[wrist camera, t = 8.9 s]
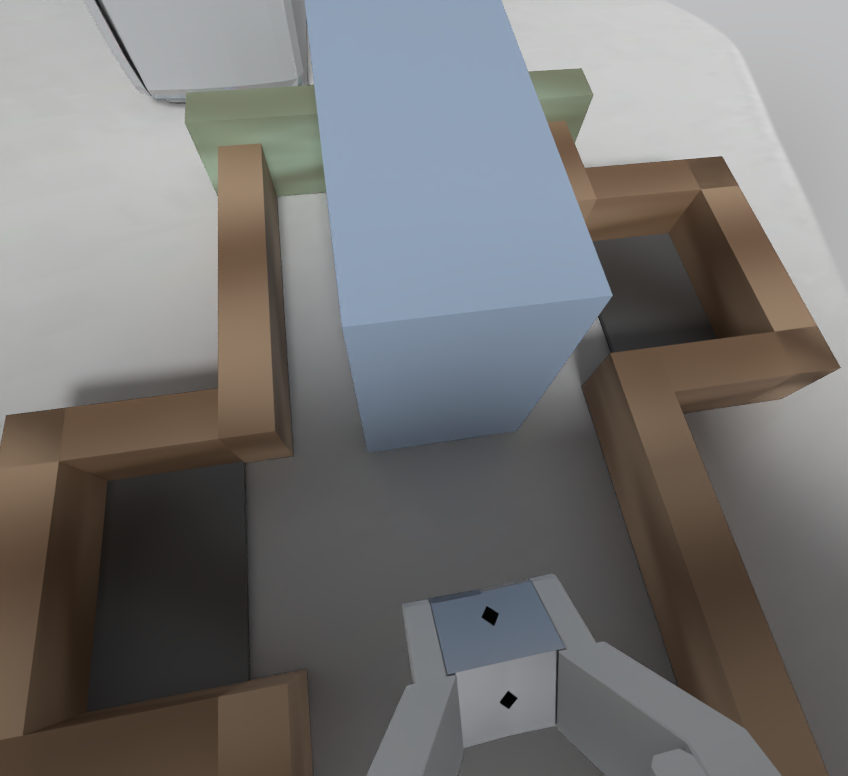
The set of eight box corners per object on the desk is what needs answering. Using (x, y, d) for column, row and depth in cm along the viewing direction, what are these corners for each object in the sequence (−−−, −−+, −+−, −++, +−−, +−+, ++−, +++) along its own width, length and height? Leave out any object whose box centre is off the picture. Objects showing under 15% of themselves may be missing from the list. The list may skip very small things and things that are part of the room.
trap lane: (1016, 875, 12) (1239, 974, 9) (-30, 1174, 9) (-249, 1470, 6) (653, 138, 22) (696, 61, 19) (98, 183, 20) (39, 101, 16)
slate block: (516, 431, 16) (613, 295, 9) (368, 453, 16) (341, 327, 8) (454, 187, 21) (485, -40, 13) (336, 198, 20) (300, -34, 13)
